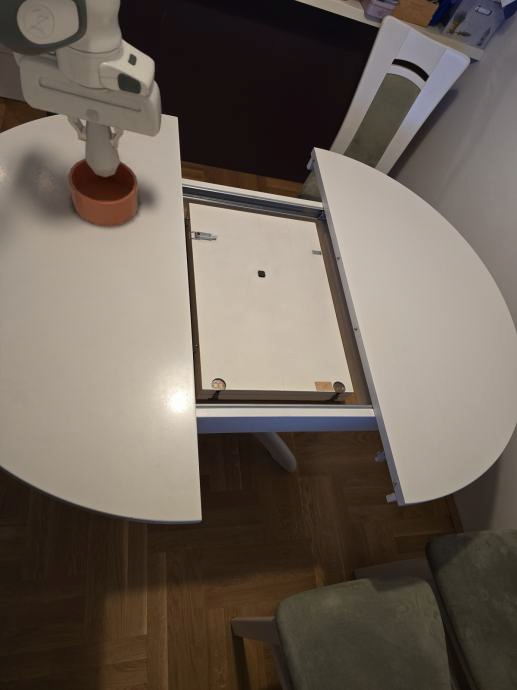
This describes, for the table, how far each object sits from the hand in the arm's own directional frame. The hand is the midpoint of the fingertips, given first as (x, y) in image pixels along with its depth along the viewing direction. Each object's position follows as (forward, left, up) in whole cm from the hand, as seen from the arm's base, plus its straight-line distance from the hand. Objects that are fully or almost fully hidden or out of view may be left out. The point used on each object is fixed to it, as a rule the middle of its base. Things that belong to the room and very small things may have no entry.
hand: (99, 142), depth 67 cm
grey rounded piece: (0, 0, -6) cm, 6 cm away
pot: (0, 0, -14) cm, 14 cm away
